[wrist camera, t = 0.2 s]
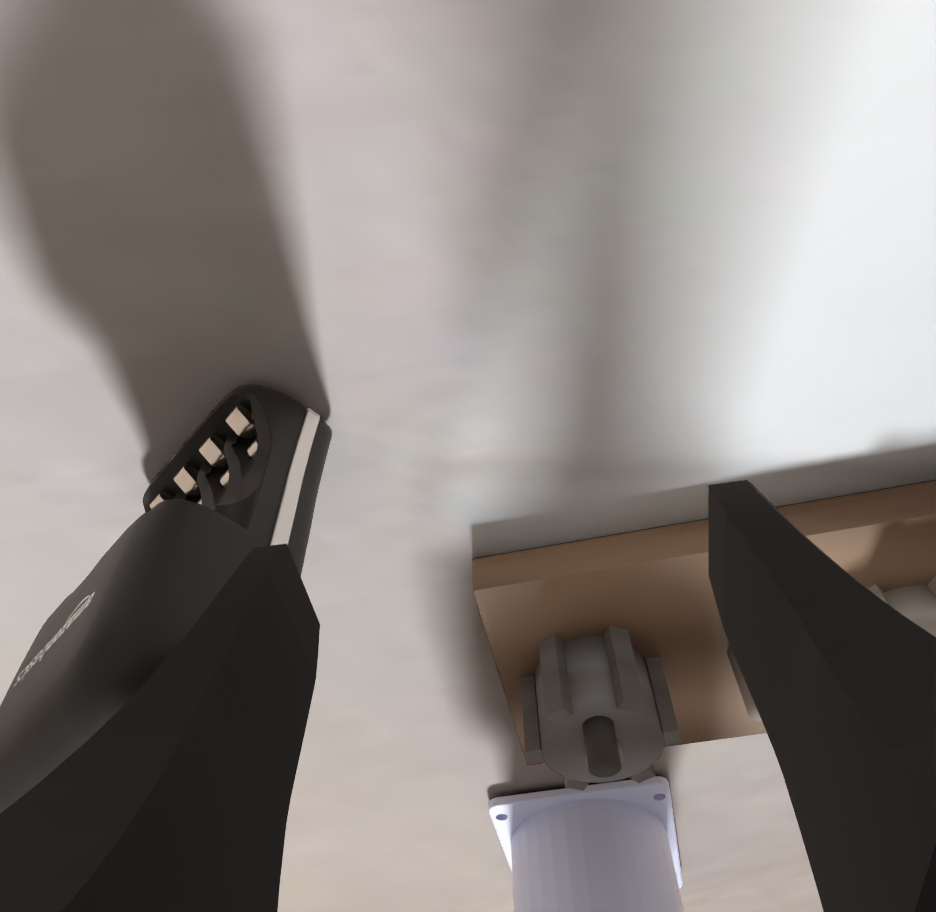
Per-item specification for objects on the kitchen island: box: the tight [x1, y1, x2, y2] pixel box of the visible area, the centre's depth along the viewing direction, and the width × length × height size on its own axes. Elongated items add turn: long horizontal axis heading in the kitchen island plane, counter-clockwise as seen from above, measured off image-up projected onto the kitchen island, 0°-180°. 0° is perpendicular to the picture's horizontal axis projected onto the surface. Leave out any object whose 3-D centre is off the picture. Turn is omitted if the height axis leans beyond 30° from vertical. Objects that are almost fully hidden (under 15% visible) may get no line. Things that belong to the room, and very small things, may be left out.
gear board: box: [473, 480, 936, 791], centre depth 27 cm, size 10×17×6 cm, turn 103°
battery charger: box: [0, 385, 332, 813], centre depth 20 cm, size 7×4×11 cm, turn 137°
